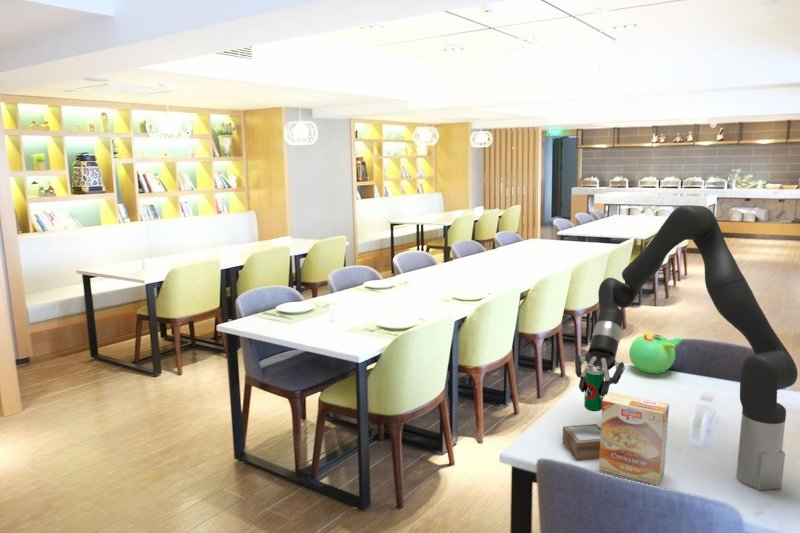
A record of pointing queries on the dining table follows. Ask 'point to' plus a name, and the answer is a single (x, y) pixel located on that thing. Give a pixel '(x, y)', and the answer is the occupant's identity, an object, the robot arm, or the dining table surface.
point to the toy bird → (653, 353)
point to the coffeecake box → (633, 437)
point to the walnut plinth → (583, 441)
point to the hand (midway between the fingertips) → (592, 392)
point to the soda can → (593, 388)
